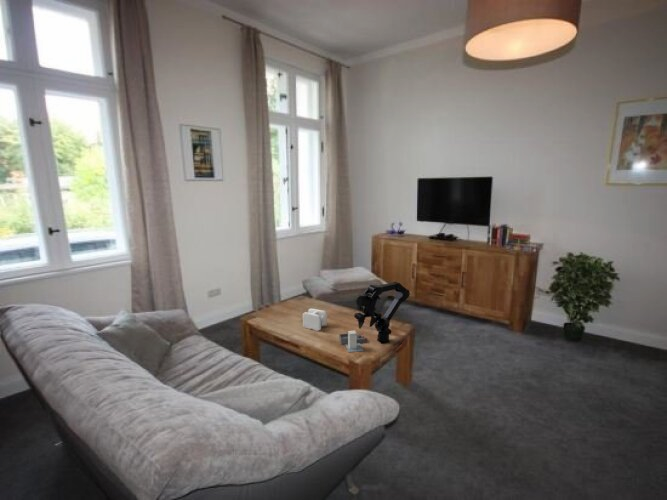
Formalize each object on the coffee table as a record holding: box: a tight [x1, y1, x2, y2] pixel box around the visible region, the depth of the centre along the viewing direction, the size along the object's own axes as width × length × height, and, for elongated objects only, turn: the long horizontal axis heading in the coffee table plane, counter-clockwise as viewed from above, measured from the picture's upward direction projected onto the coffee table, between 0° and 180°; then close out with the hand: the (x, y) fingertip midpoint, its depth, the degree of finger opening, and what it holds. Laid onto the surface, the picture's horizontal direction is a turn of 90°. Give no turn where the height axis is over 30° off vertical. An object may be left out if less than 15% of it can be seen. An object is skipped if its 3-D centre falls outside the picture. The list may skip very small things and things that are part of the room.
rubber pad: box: [344, 343, 365, 353], centre depth 219 cm, size 10×10×1 cm
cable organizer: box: [302, 308, 328, 332], centre depth 248 cm, size 15×11×12 cm
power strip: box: [338, 333, 367, 346], centre depth 227 cm, size 16×7×4 cm, turn 100°
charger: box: [347, 329, 358, 349], centre depth 218 cm, size 4×4×10 cm
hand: (364, 327), depth 220 cm, fingers open, 9 cm apart
